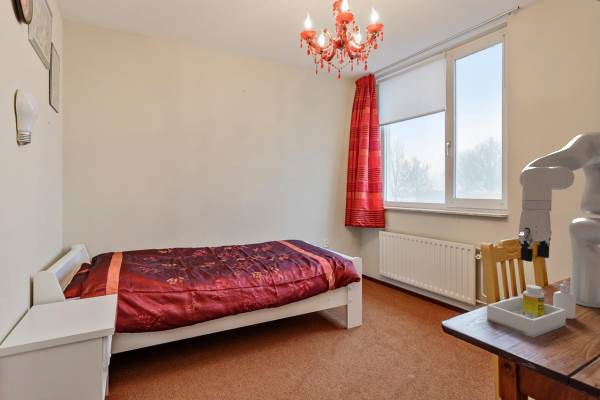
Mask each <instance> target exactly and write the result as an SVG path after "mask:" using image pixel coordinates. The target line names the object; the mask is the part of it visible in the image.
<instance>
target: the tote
mask: <svg viewBox="0 0 600 400" xmlns="http://www.w3.org/2000/svg"><path fill="white" fill-rule="evenodd" d="M486 307H487V310H486V311H487V312H486V320H487V321H489V322H492V323H494V324H497V325H499V326H501V327H504V328H507V329H509V330H512V331H514V332H517V333H520V334H523V335H524V336H527V337H530V338H536V337H540V336H541V335H545V334H546V333H550V332H552V331H555V330H557V329H560V328H563V327H565V326H566V319H567V318H566V310H564V309H561V308H558V307H554V306H553V305H552V304H548V303H544V315H543V316H540V317H537V318H534V319H530V318H527V317H524V316H523V296H520V295H519V296H516V297H515V296H514V297H511V298H508V299H503V300H501V301H497V302H496V301H495V302H494V303H493V302H492V303H488V304H487V306H486Z"/></svg>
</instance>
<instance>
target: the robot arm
mask: <svg viewBox="0 0 600 400" xmlns="http://www.w3.org/2000/svg"><path fill="white" fill-rule="evenodd" d="M580 169H582V170H583V173H584V176H585V183H584V189H583V192H582V196H581V201H580V211H581V212H582V213H583V214H585V215H589V216H595V217H577V218H575V219H573V220H571V222H569V225H568V231H569V238H570V243H571V245H570V246H571V259H570V284H569V286H570V289H569V292H570V293H572V294H574V295H575V297H576V305H580V306H583V307H589V308H594V309H595V308H596V309H598V308H599V309H600V130H599V131H591V132H584V133H581V134H579V135H577V136H575V137H574V138H573V139H571V140H570V141H569V142H568V144H566V145H565V146H564V147H563V148H562V149H560V150H557V151H554V152H552V153H550V154H547V155H545V156H542V157H538V158H537V159H535V160H533V161H532V162H530V163H528V165H526V166H525V168H524V169H523V170H522V171H521V173H520V175H519V183H520V185H521V186H522V198H521V199H522V201H521V214H520V219H519V226H518V227H519V228H518V235H517V236H518V240H519V242H518V243H519V248H520V260H521V261H524V262H529V263H531V262H533V261H534V260H533V259H534V257H533V256H534V249H533V246H534V243H538V244H536V245H537V246H536V250H537V251H536V256H537V257H539V258H545V259H550V245H551V242H550V241H551V239H552V237H551V236H552V230H551V223H552V222H551V214H550V213H551V212H552V199H553V197H552V195H553V191H561V190H567V189H568V188H570V187H572V186H573V184H574V182H575V174H574V172H573V171H577V170H580ZM598 217H599V218H598Z"/></svg>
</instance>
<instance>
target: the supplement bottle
mask: <svg viewBox="0 0 600 400" xmlns="http://www.w3.org/2000/svg"><path fill="white" fill-rule="evenodd" d="M542 291H543V290H542V287H541V286H538V285H535V284H527V285H526V290H524V291H523V293H522V297H523V316H524V317H527V318H530V319H534V318H537V317H540V316H543V315H544V304H545V294H544V293H542Z"/></svg>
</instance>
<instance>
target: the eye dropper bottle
mask: <svg viewBox="0 0 600 400" xmlns="http://www.w3.org/2000/svg"><path fill="white" fill-rule="evenodd" d="M552 301H553V302H552V306H554V307H558V308H561V309H564V310H566V318H565V319H566V320H567V319H568V320H569V319H571V320H573V319H575V318H576V305H577V304H576V297H575V295H574V294H572V293H570V284H568V282H567V280H563V281H562V283H560V284H559V290H558V291H555V292H553V300H552Z"/></svg>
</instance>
